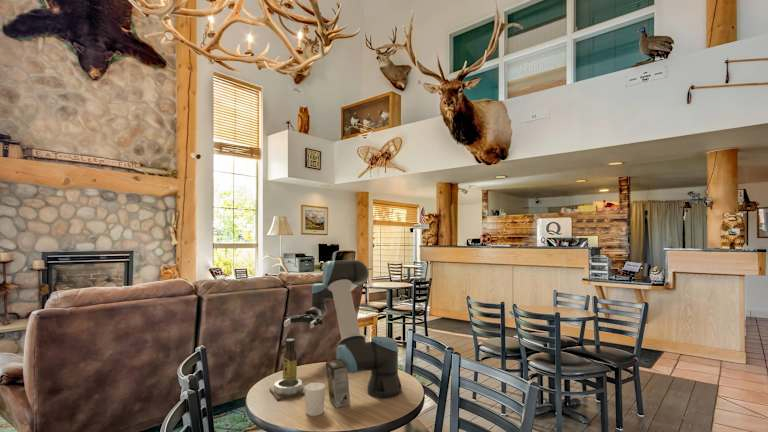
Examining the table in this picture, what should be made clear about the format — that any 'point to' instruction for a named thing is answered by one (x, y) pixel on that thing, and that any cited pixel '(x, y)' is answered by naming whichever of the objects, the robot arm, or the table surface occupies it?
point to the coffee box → (338, 383)
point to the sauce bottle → (290, 360)
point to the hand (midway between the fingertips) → (297, 324)
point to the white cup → (314, 398)
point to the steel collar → (282, 388)
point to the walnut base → (282, 397)
